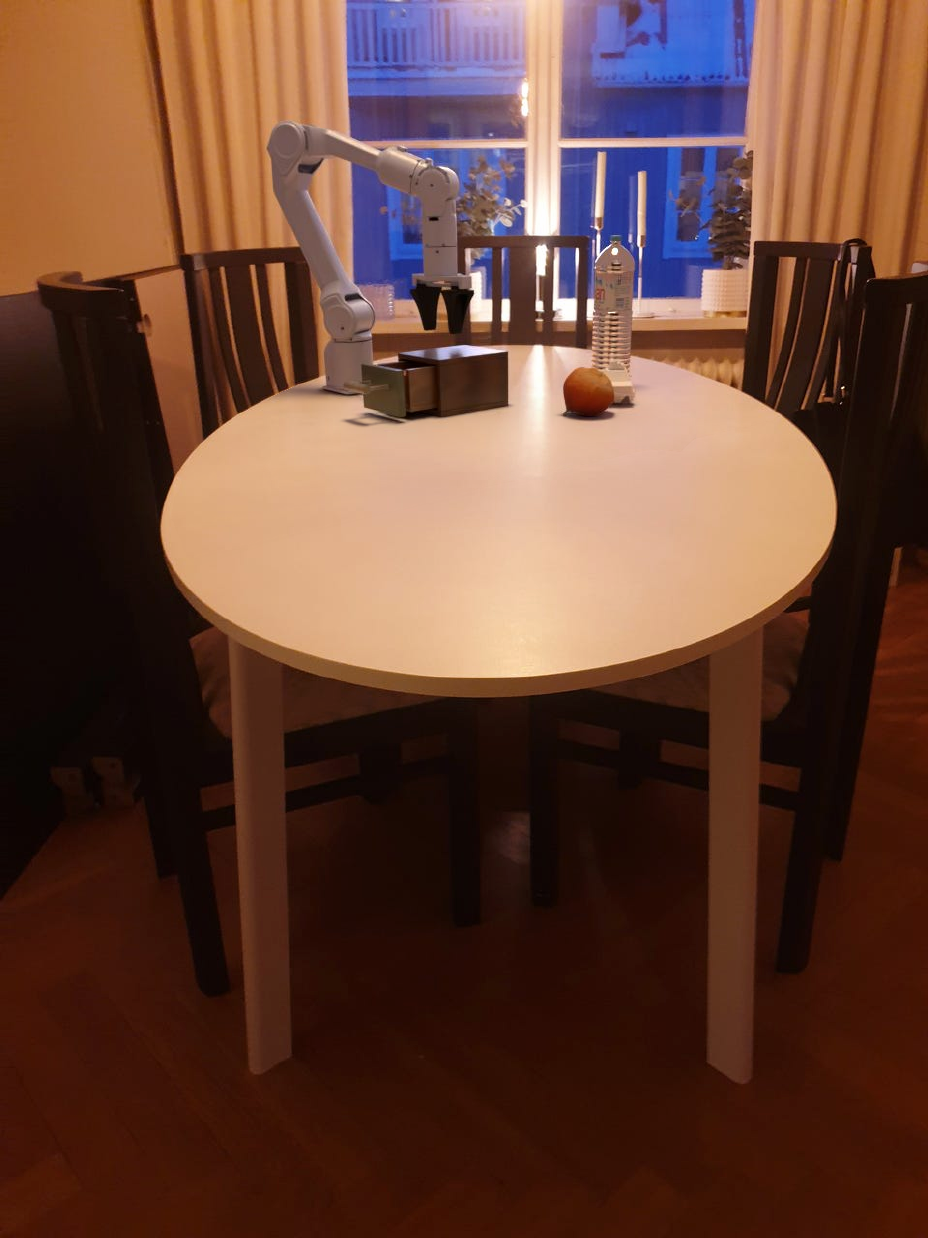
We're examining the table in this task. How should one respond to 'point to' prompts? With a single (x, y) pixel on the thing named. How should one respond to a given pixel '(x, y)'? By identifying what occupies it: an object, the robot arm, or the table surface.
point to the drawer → (397, 387)
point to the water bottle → (613, 306)
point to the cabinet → (466, 377)
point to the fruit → (587, 392)
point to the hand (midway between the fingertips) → (442, 331)
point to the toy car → (620, 381)
